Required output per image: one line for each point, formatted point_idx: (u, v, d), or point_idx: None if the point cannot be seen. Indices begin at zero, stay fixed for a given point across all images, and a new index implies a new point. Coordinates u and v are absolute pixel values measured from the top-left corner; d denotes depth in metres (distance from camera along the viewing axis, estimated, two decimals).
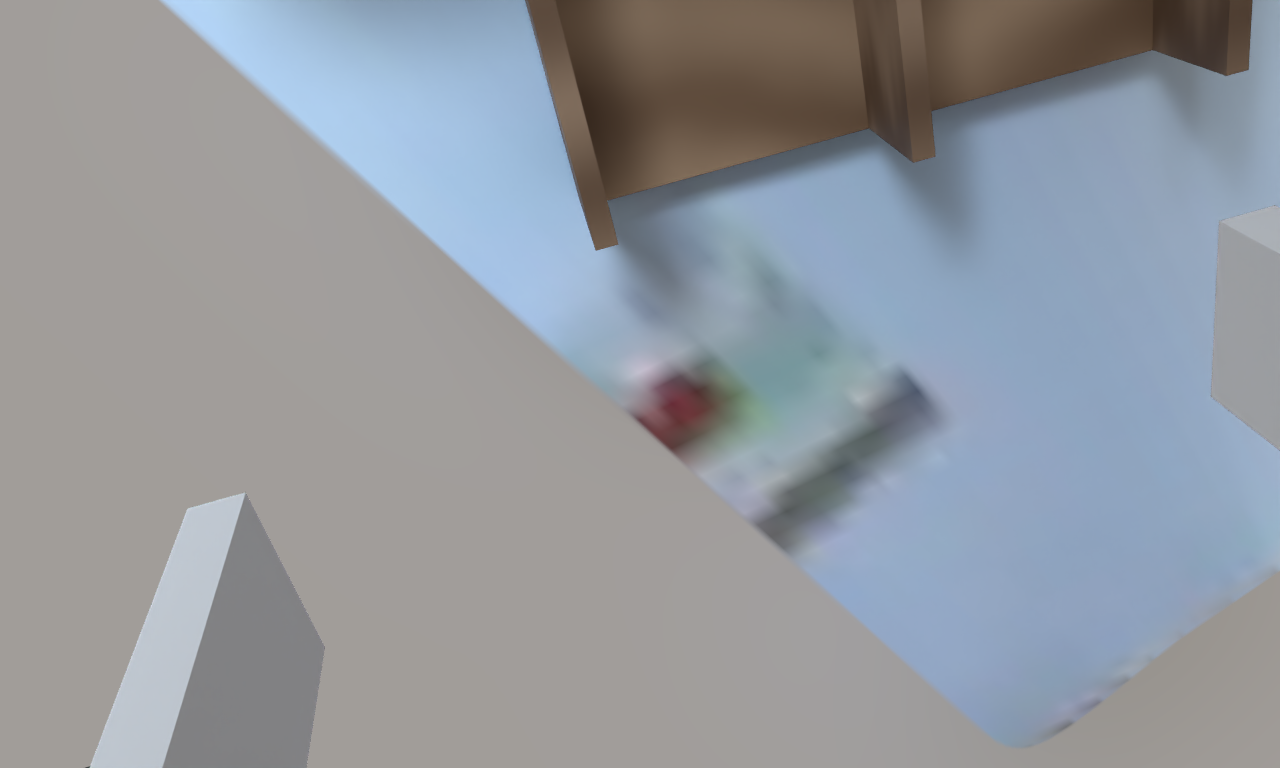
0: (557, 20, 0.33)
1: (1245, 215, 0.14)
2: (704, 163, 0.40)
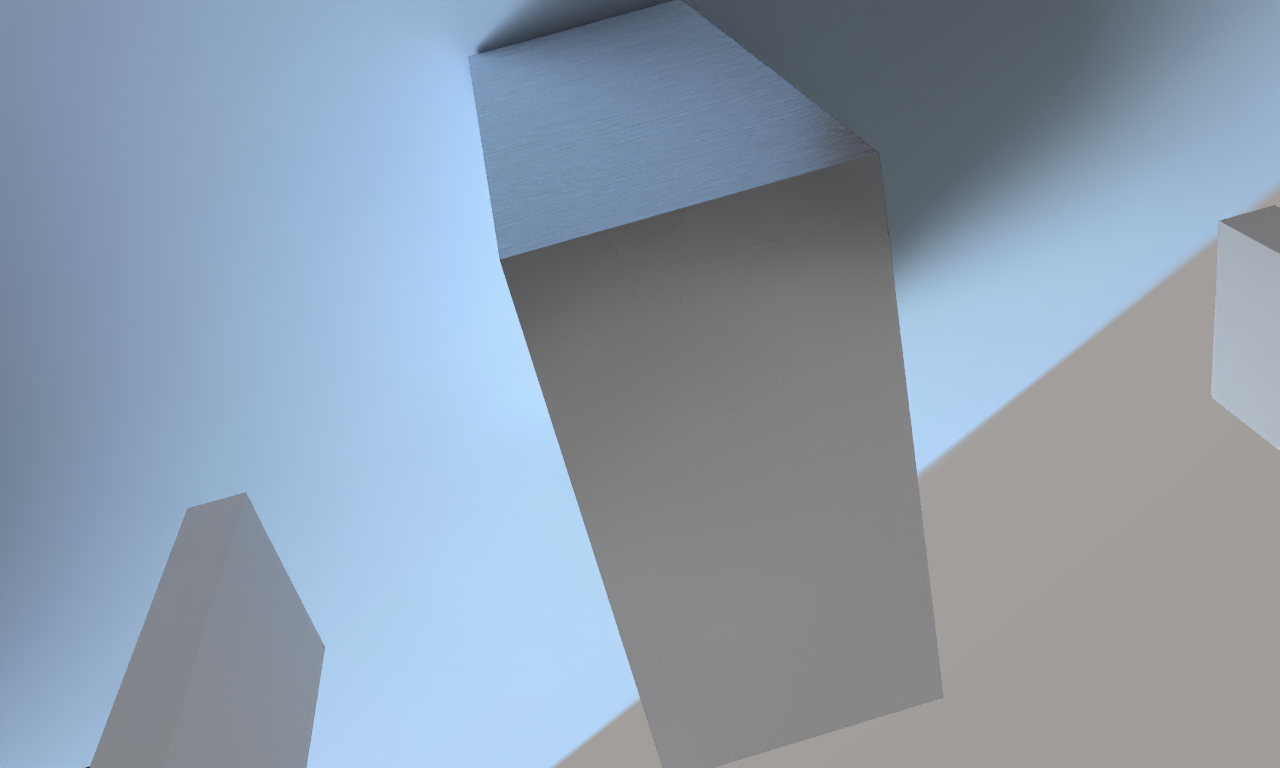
0: None
1: (1246, 215, 0.14)
2: None
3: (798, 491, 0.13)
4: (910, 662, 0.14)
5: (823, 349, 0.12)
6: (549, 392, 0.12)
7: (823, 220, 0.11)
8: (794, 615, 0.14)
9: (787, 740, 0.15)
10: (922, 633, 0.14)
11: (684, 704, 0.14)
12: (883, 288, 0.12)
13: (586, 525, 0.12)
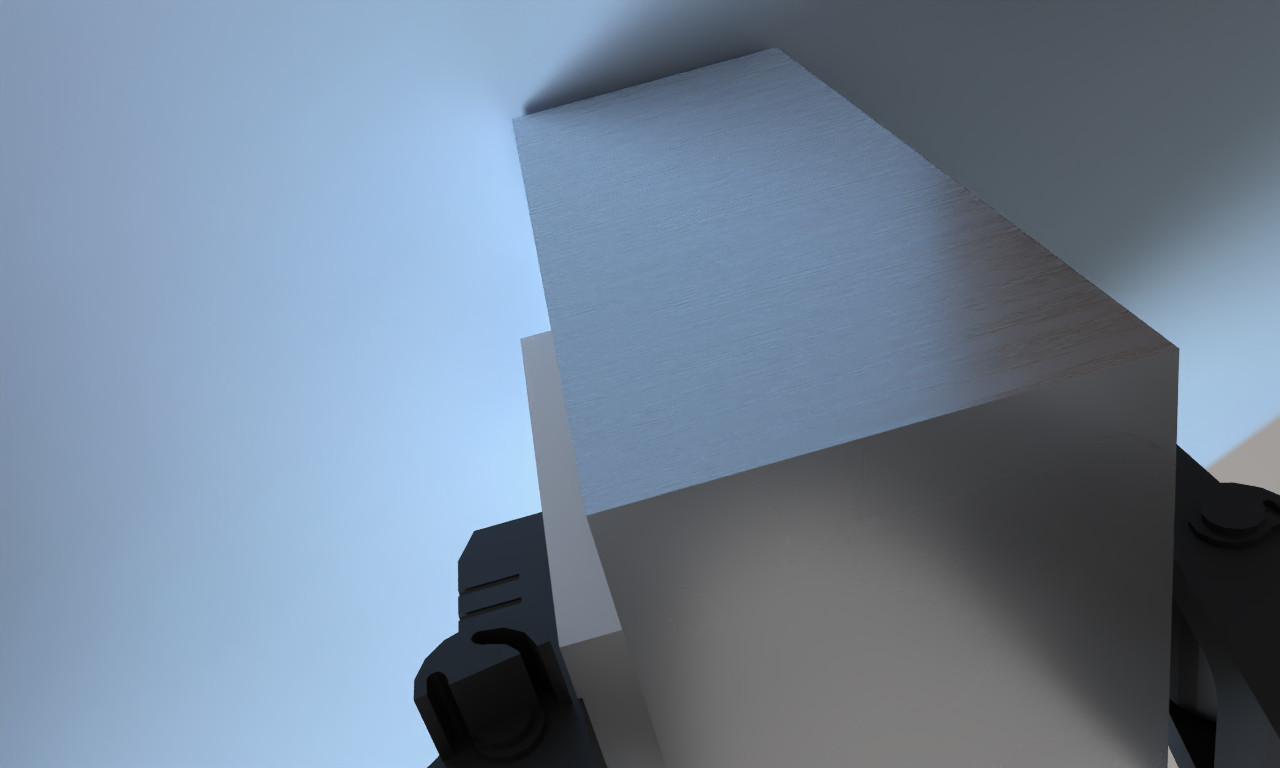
0: None
1: None
2: None
3: None
4: None
5: (1059, 619, 0.08)
6: (651, 688, 0.08)
7: (1082, 446, 0.07)
8: None
9: None
10: None
11: None
12: (1157, 535, 0.08)
13: None
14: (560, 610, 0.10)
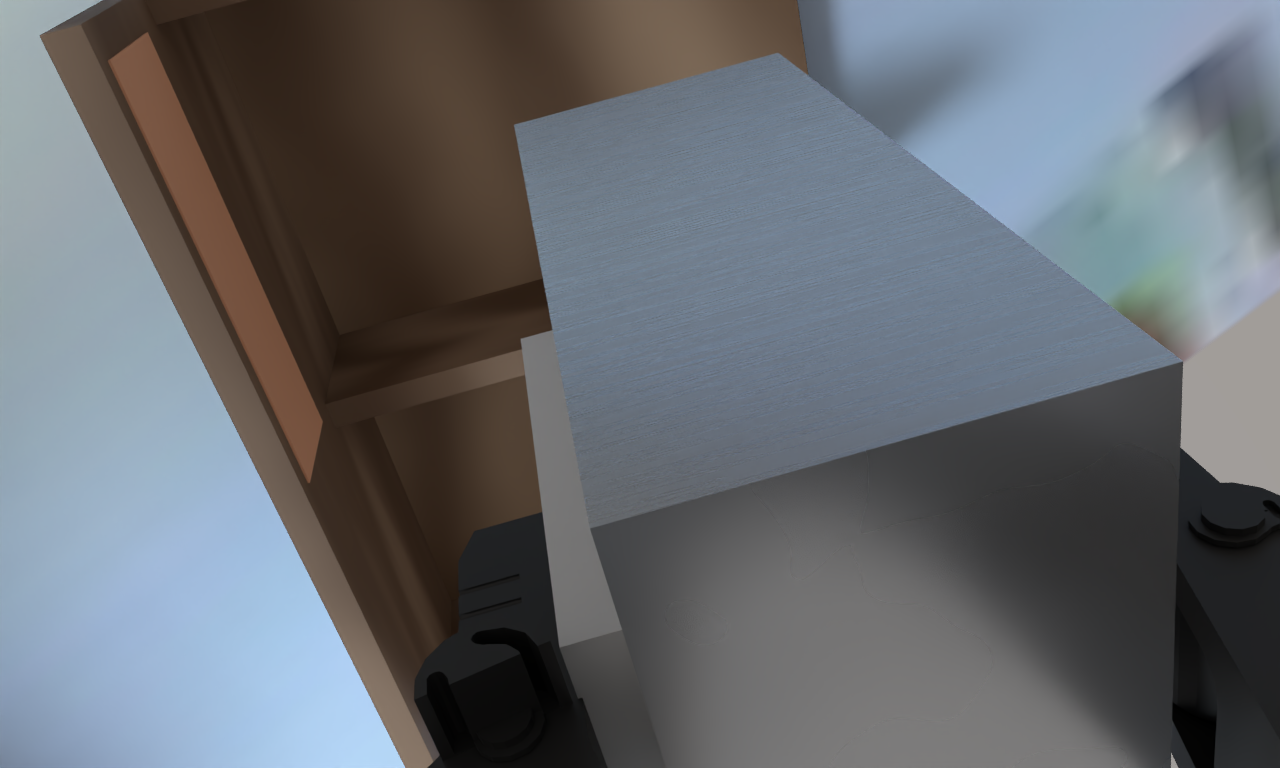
0: None
1: None
2: None
3: None
4: None
5: (1062, 630, 0.08)
6: (655, 700, 0.08)
7: (1085, 458, 0.07)
8: None
9: None
10: None
11: None
12: (1160, 547, 0.08)
13: None
14: (560, 610, 0.10)
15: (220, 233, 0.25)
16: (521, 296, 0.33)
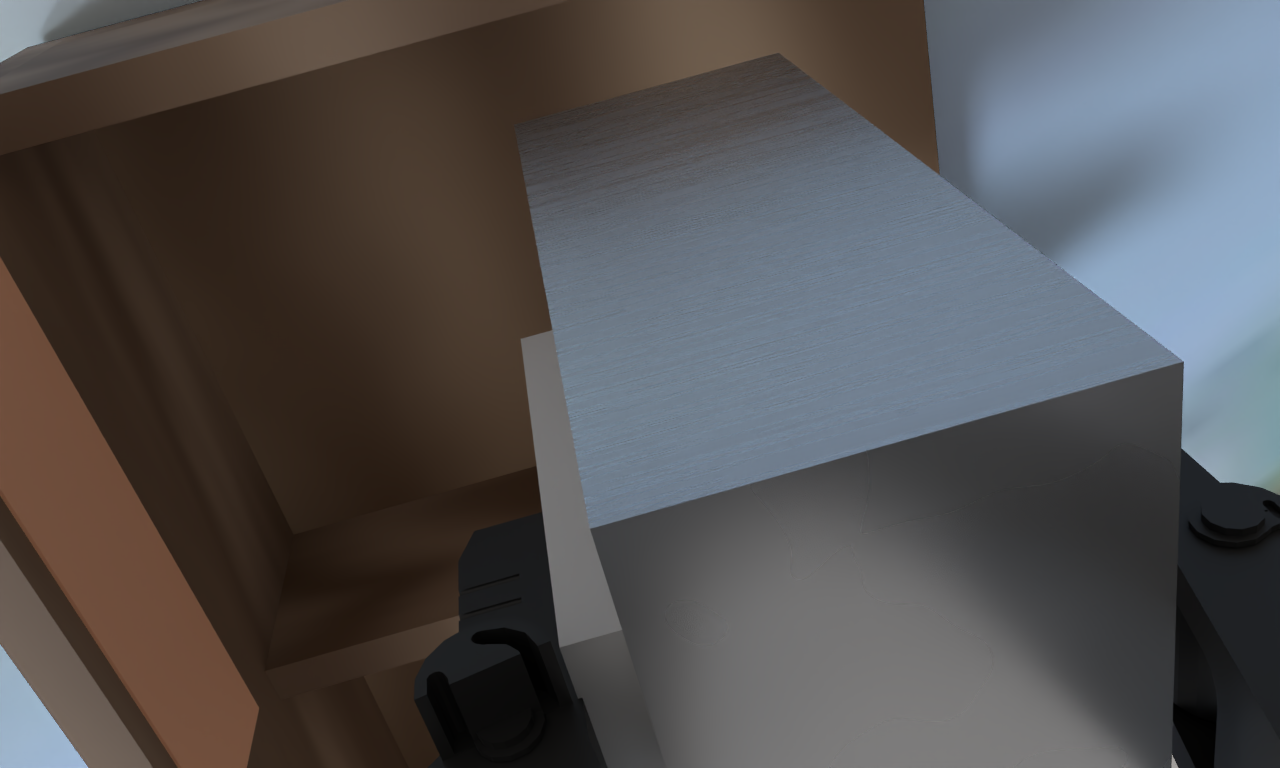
0: None
1: None
2: None
3: None
4: None
5: (1062, 630, 0.08)
6: (655, 700, 0.08)
7: (1087, 458, 0.07)
8: None
9: None
10: None
11: None
12: (1161, 547, 0.08)
13: None
14: (560, 610, 0.10)
15: (83, 485, 0.16)
16: None
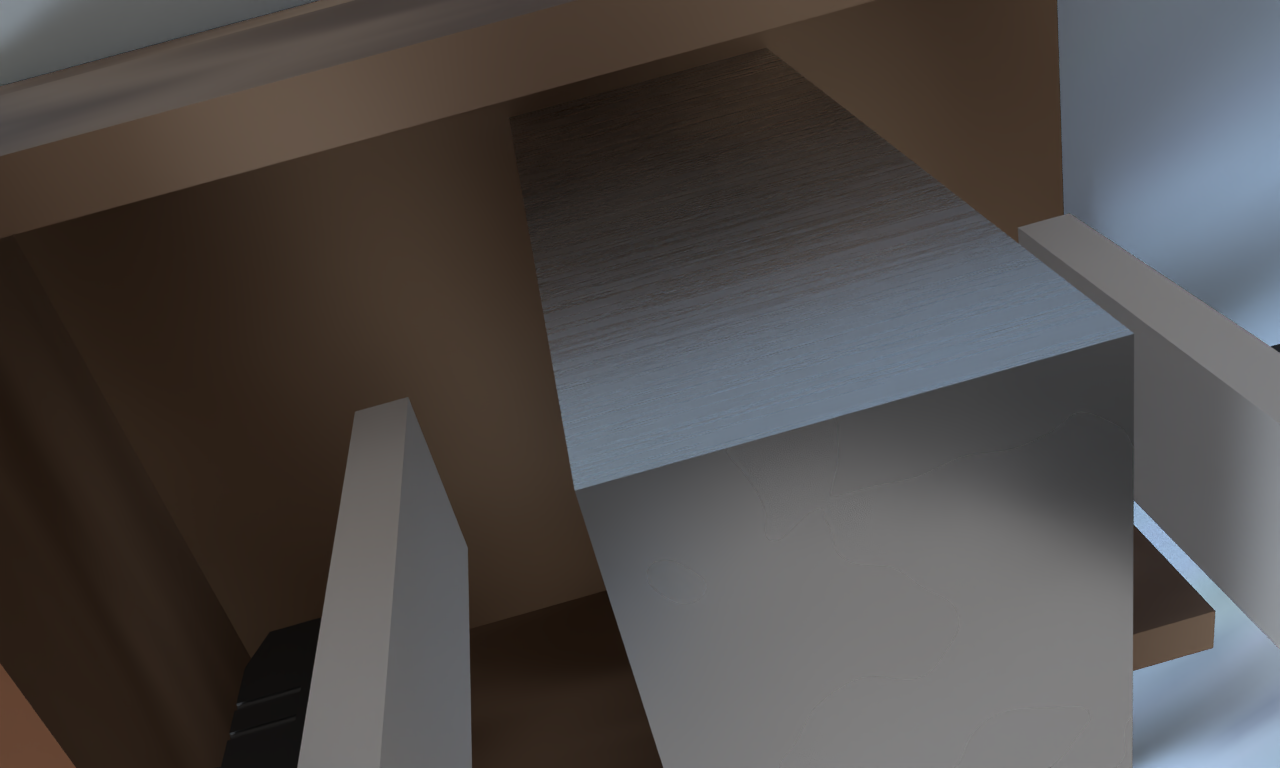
0: None
1: (1041, 222, 0.15)
2: None
3: (971, 765, 0.09)
4: None
5: (1026, 592, 0.08)
6: (638, 657, 0.08)
7: (1043, 426, 0.08)
8: None
9: None
10: None
11: None
12: (1117, 512, 0.08)
13: None
14: (306, 745, 0.09)
15: None
16: (570, 633, 0.20)
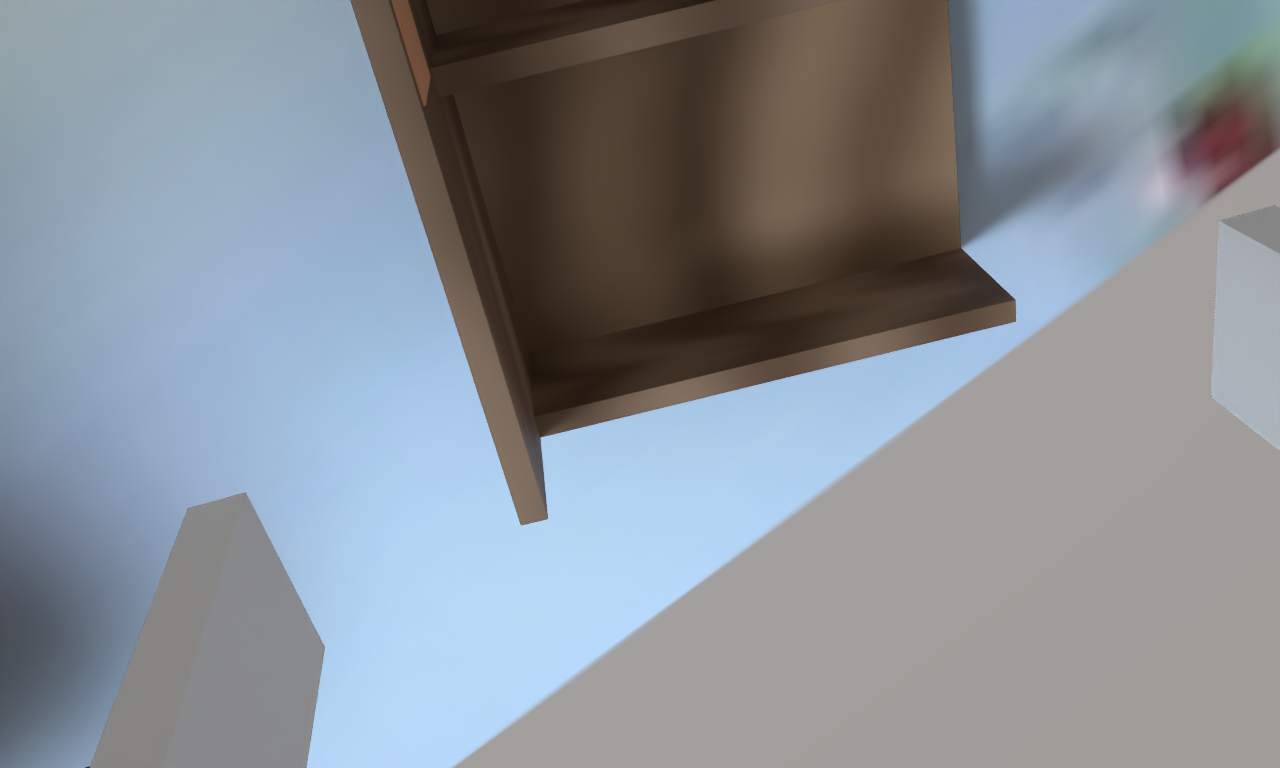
0: (788, 358, 0.35)
1: (1245, 215, 0.14)
2: (944, 142, 0.37)
3: None
4: None
5: None
6: None
7: None
8: None
9: None
10: None
11: None
12: None
13: None
14: None
15: None
16: None
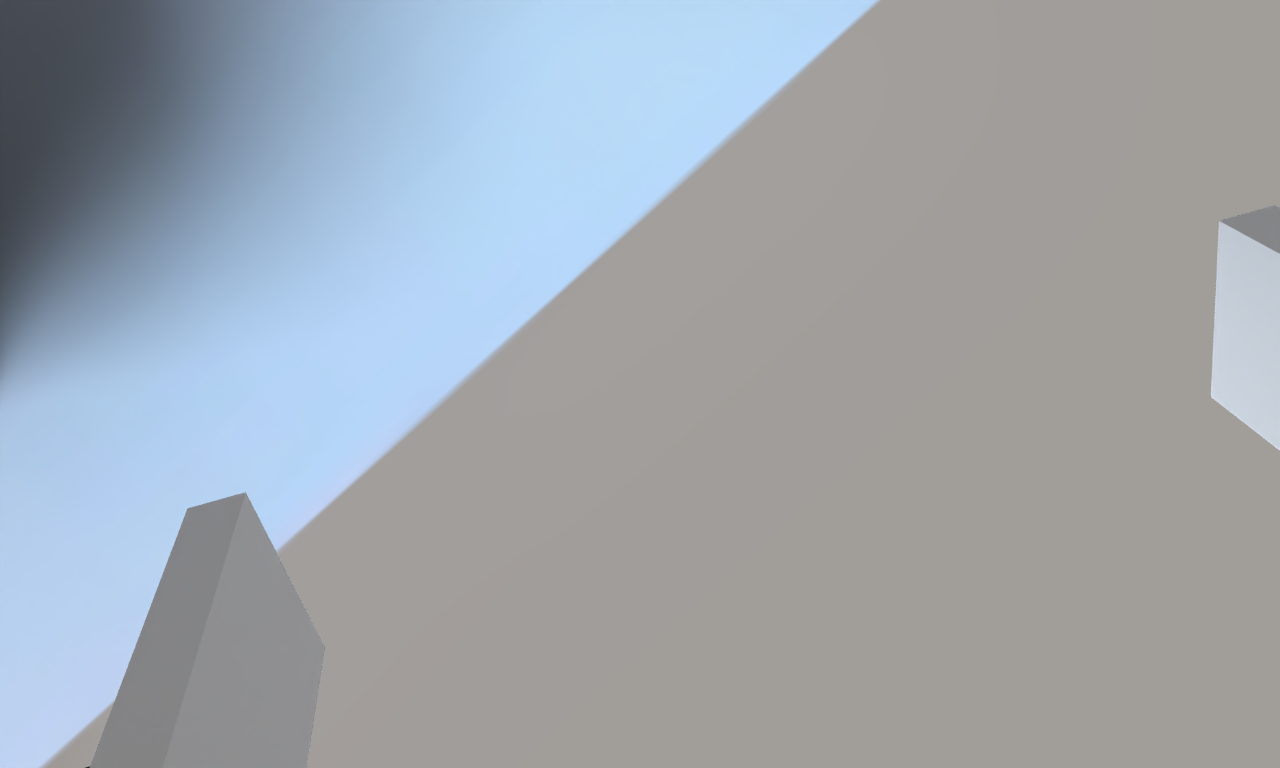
0: None
1: (1245, 215, 0.14)
2: None
3: None
4: None
5: None
6: None
7: None
8: None
9: None
10: None
11: None
12: None
13: None
14: None
15: None
16: None
